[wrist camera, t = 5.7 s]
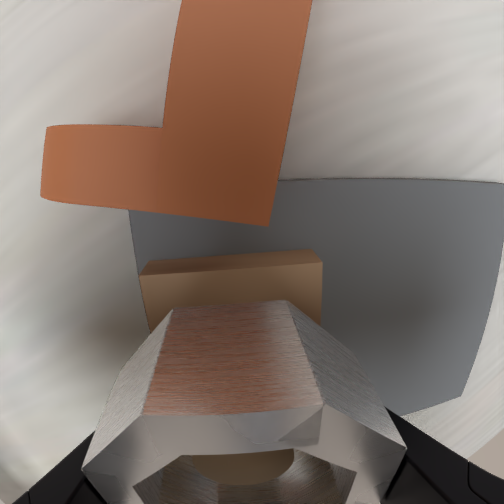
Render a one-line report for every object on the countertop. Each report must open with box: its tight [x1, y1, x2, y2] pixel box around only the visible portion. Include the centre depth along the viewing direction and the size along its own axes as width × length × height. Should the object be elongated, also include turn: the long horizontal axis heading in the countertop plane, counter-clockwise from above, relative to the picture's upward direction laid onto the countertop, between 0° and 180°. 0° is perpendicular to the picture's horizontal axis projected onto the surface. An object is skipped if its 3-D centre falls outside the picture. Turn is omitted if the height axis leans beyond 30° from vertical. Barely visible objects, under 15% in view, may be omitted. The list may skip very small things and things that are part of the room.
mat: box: [128, 178, 504, 416], centre depth 13 cm, size 13×17×1 cm
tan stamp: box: [139, 249, 323, 485], centre depth 9 cm, size 6×6×6 cm
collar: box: [81, 300, 407, 504], centre depth 7 cm, size 6×6×4 cm
